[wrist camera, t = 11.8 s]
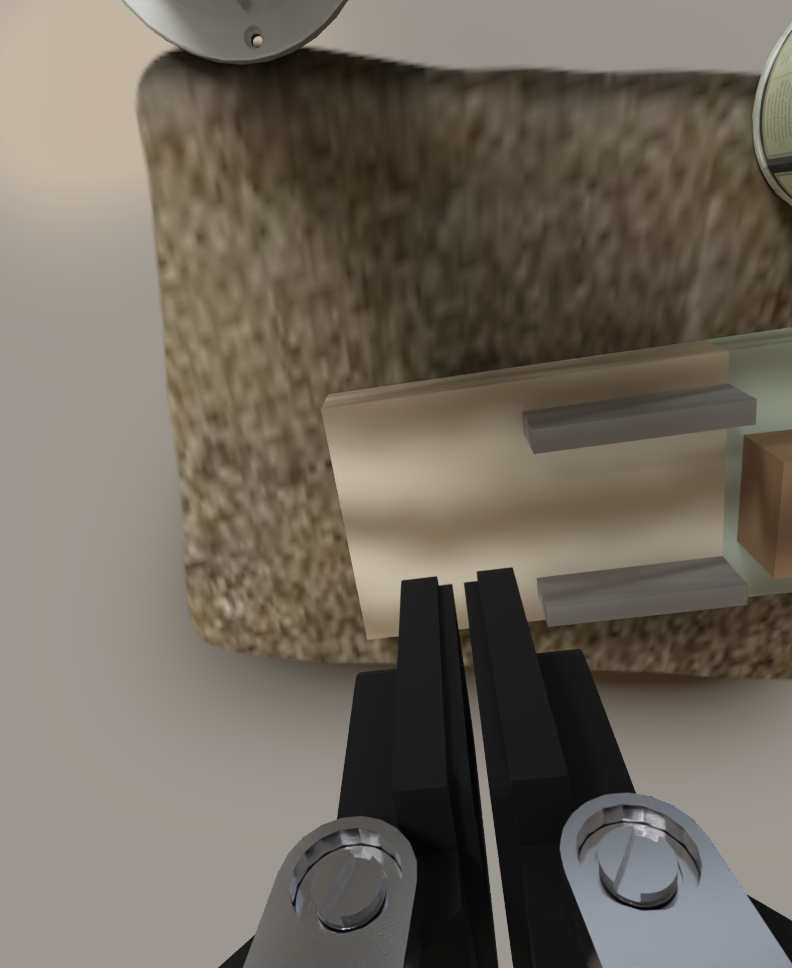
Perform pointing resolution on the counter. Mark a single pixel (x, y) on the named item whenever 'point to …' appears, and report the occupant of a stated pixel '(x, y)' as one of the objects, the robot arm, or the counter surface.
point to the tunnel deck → (563, 480)
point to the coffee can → (775, 118)
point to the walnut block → (767, 501)
